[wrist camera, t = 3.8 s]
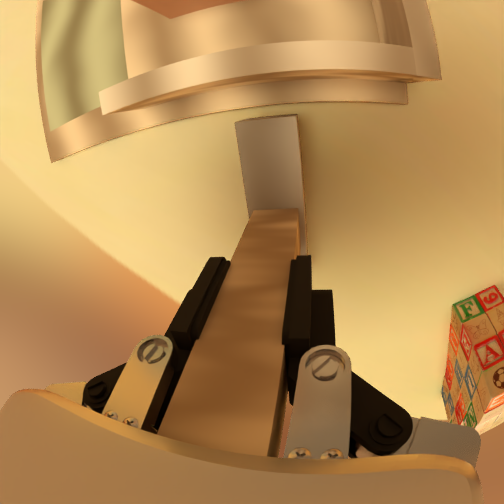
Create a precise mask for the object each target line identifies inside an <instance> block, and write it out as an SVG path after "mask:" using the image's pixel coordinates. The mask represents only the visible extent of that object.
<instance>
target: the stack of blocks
mask: <svg viewBox="0 0 504 504" xmlns="http://www.w3.org/2000/svg"><path fill="white" fill-rule="evenodd" d="M442 397H443V401H444V405H445V410H446V414H447V418H448V422H449V423H453V424H458V425H463V426H469V427H472V428H474V429H475V430H476V431H477V432H478V433H479V435H480V434H482V433H484V432H486V431H488V430H489V429H492V428H493V427H495V426H497V425H499V424H501V423H503V422H504V297H503V296H502V294H501V293H500V292H499V290H498V289H497V287H496V286H495V285H493V286H491V287H489V288H487V289H485V290H483V291H481V292H479V293H477V294H475V295H473V296H471V297H469V298H467V299H464V300H462V301H460V302H458V303H455V304H453V305H452V317H451V324H450V335H449V343H448V358H447V367H446V373H445V376H444V382H443V387H442Z"/></svg>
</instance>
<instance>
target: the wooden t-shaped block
mask: <svg viewBox="0 0 504 504" xmlns="http://www.w3.org/2000/svg"><path fill="white" fill-rule="evenodd" d="M235 129H236V135H237V142H238V148H239V155H240V161H241V168H242V174H243V181H244V187H245V194H246V200H247V207H248V213H249V221H248V224H247V226H246V228H245V230H244V232H243V235H242V237H241V239H240V241H239V243H238V246H237V248H236V250H235V252H234V255H233V257H232V259H231V261H230V263H231V265H230V267H229V270H228V272H227V274H226V277H225V279H224V281H223V284H222V286H221V288H220V291H219V293H218V295H217V298H216V300H215V302H214V305H213V307H212V309H211V312H210V314H209V316H208V319H207V321H206V323H205V326H204V328H203V330H202V333H201V335H200V338H199V340H196V342H195V344H194V346H193V349H192V351H191V353H190V356H189V358H188V360H187V363H186V365H185V367H184V370H183V372H182V375H181V377H180V379H179V382H178V384H177V386H176V389H175V391H174V394H173V396H172V398H171V401H170V403H169V406H168V408H167V411H166V413H165V415H164V418H163V420H162V423H161V425H160V428H159V430H158V433H157V435H160V436H163V437H167V438H170V439H174V440H177V441H181V442H185V443H189V444H193V445H198V446H202V447H207V448H212V449H217V450H223V451H229V452H235V453H241V454H249V455H257V456H266V457H278V455H279V449H280V443H281V436H282V430H283V423H284V416H285V409H286V402H287V394H288V385H287V371H286V358H285V346H284V345H282V327H283V320H284V313H285V305H286V297H287V289H288V281H289V273H290V264H291V259H296V257H297V255H308V254H307V229H306V210H305V194H304V180H303V168H302V156H301V145H300V135H299V126H298V117H297V114H291V115H278V116H267V117H258V118H250V119H245V120H241V121H238V122H235Z"/></svg>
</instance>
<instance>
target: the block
mask: <svg viewBox="0 0 504 504" xmlns="http://www.w3.org/2000/svg"><path fill="white" fill-rule="evenodd" d="M131 1H134V2H136V3H138V4H141V5H143V6H145V7H147V8H149V9H151V10H153V11H155V12H157V13H159V14H161V15H163V16H165V17H167V18H169V19H172V18H175V17H179V16H182V15H185V14H188V13H192V12H195V11H199V10H203V9H207V8H211V7H215V6H219V5H224V4H229V3H234V2H239V1H245V0H131Z"/></svg>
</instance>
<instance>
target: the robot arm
mask: <svg viewBox="0 0 504 504" xmlns="http://www.w3.org/2000/svg"><path fill="white" fill-rule="evenodd" d="M230 265H231V263H230V261H226V259H225V257H210V258H209V260H208V261H207V263H206V265H205V267H204V268H203V270H202V272H201V274H200V276H199V277H198V279H197V281H196V283H195V285H194V287H193V288H192V289H191V290H189V292H188V293H187V295H186V297H185V298H184V300H183V302H182V304H181V306H180V308H179V309H178V311H177V313H176V315H175V317H174V318H173V321H172V322H171V324H170V326H169V328H168V330H167V332H166V333H165V335H164V336H162V335H153V336H149V337H147V338H145V339H143V340H142V341H140V342H139V343H138V345H137V346H136V347H135V349H134V350H133V353H132V354H131V356H130V358H129V360H128V362H127V363H124V364H122V365H120V366H118V367H116V368H114V369H112V370H110V371H107V372H105V373H103V374H101V375H98V376H96V377H94V378H93V379H91V380H90V381H89V382H88V383H86V382H85V381H84V382H73V383H59V384H51V385H49V386H47V387H46V388H45V389H44V390H42V389H23V390H19V391H17V392H15V393H14V394H12V395H11V397H10V398H9V399H8V400H7V402H6V403H5V404H4V406H3V407H2V409H1V410H0V504H484V502H483V493H482V487H481V482H480V479H479V476H478V474H477V471H476V470H475V466H476V462H477V458H478V454H479V450H480V444H481V439H480V436H479V433H478V432H477V431H476V430H475V429H474V428H472V427H469V426H463V425H458V424H453V423H448V422H443V421H438V420H434V419H429V418H425V417H421V418H420V419H418V418H414V417H411V416H410V414H409V413H408V412H407V411H406V410H405V409H403V408H402V407H401V406H399V405H398V404H396V403H395V402H394V401H392V400H391V399H389V398H388V397H387V396H385V395H384V394H382V393H381V392H380V391H378V390H377V389H375V388H374V387H373V386H371V385H370V384H369V383H367V382H366V381H364V380H363V379H362V378H360V377H359V376H358V375H356V374H355V373H354V372H352V371H351V361H350V358H349V356H348V355H347V353H346V352H345V351H343V350H342V349H341V348H338V347H336V345H335V324H334V308H333V294H332V290H312V271H311V255H297V257H296V259H291V264H290V273H289V281H288V289H287V297H286V305H285V313H284V320H283V327H282V345H284V346H285V358H286V371H287V385H288V391H289V401H290V404H291V405H292V406H293V409H292V415H291V421H290V426H289V432H288V437H287V442H286V447H285V452H284V457H283V458H278V457H266V456H257V455H249V454H241V453H235V452H229V451H223V450H217V449H212V448H207V447H202V446H198V445H193V444H189V443H185V442H181V441H177V440H174V439H170V438H167V437H163V436H160V435H157V433H158V430H159V428H160V425H161V423H162V420H163V418H164V415H165V413H166V411H167V408H168V406H169V403H170V401H171V398H172V396H173V394H174V391H175V389H176V386H177V384H178V382H179V379H180V377H181V375H182V372H183V370H184V367H185V365H186V363H187V360H188V358H189V356H190V353H191V351H192V349H193V346H194V344H195V342H196V340H199V338H200V335H201V333H202V330H203V328H204V326H205V323H206V321H207V319H208V316H209V314H210V312H211V309H212V307H213V305H214V302H215V300H216V298H217V295H218V293H219V291H220V288H221V286H222V284H223V281H224V279H225V277H226V274H227V272H228V270H229V267H230ZM348 456H349V457H350V459H348Z"/></svg>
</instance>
